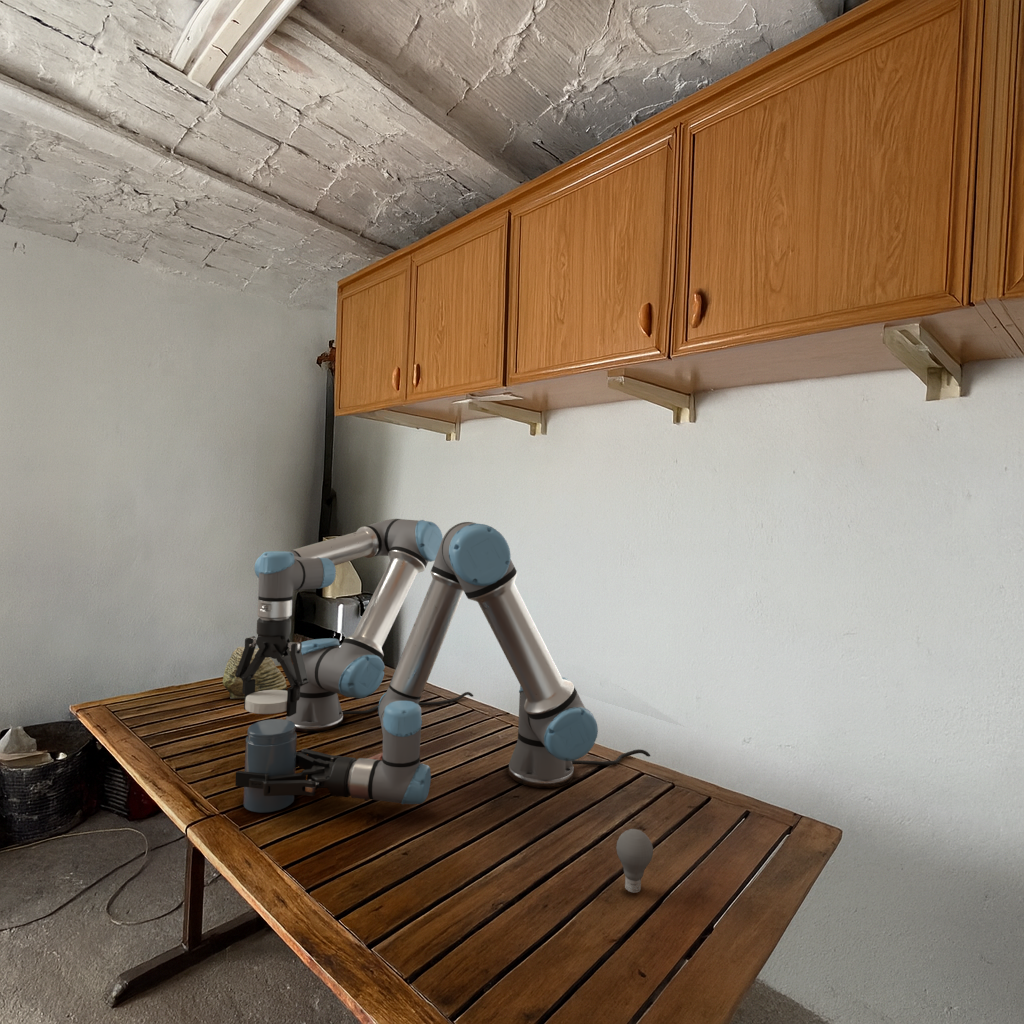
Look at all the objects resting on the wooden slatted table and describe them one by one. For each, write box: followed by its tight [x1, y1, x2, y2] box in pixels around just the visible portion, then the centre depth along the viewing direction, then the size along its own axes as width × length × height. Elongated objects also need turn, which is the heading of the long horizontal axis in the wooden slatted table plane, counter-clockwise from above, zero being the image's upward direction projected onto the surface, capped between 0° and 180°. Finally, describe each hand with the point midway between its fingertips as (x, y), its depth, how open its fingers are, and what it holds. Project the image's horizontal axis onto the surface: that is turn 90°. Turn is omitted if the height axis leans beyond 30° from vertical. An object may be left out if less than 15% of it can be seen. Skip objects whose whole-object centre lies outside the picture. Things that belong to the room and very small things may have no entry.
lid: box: [245, 690, 288, 715], centre depth 148 cm, size 11×11×2 cm
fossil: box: [222, 646, 288, 699], centre depth 198 cm, size 9×18×15 cm, turn 132°
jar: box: [243, 718, 298, 814], centre depth 131 cm, size 10×10×16 cm
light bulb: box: [615, 828, 654, 894], centre depth 106 cm, size 6×6×10 cm
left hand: (270, 711), depth 148 cm, fingers closed on lid, 11 cm apart
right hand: (250, 767), depth 131 cm, fingers closed on jar, 10 cm apart
